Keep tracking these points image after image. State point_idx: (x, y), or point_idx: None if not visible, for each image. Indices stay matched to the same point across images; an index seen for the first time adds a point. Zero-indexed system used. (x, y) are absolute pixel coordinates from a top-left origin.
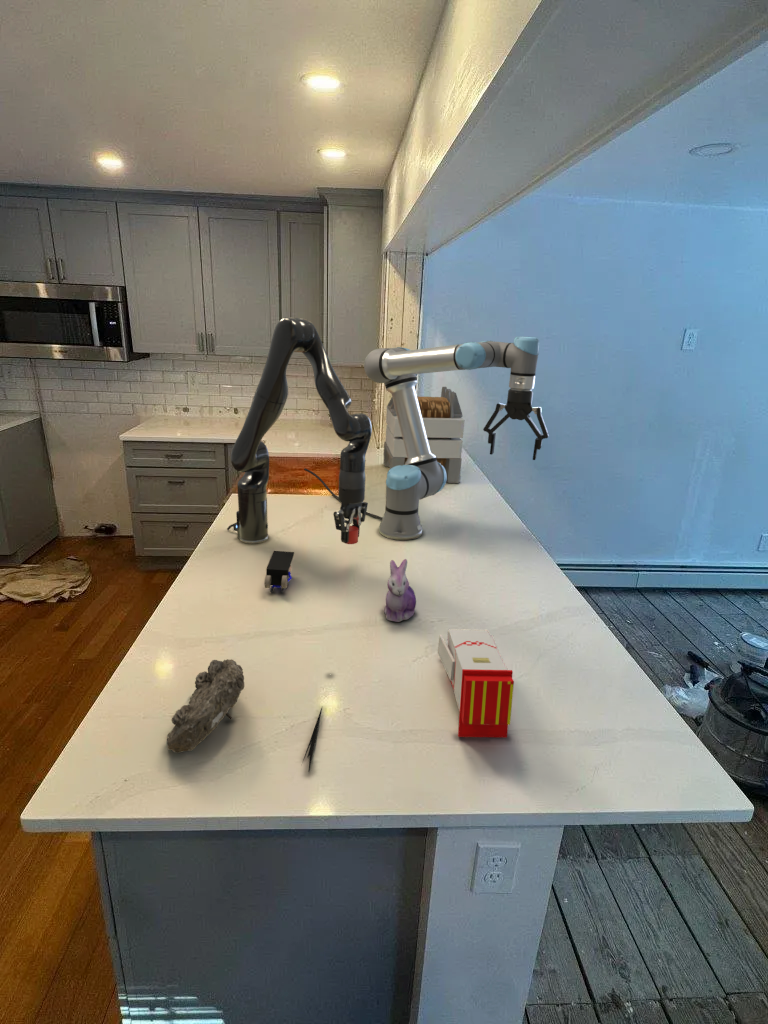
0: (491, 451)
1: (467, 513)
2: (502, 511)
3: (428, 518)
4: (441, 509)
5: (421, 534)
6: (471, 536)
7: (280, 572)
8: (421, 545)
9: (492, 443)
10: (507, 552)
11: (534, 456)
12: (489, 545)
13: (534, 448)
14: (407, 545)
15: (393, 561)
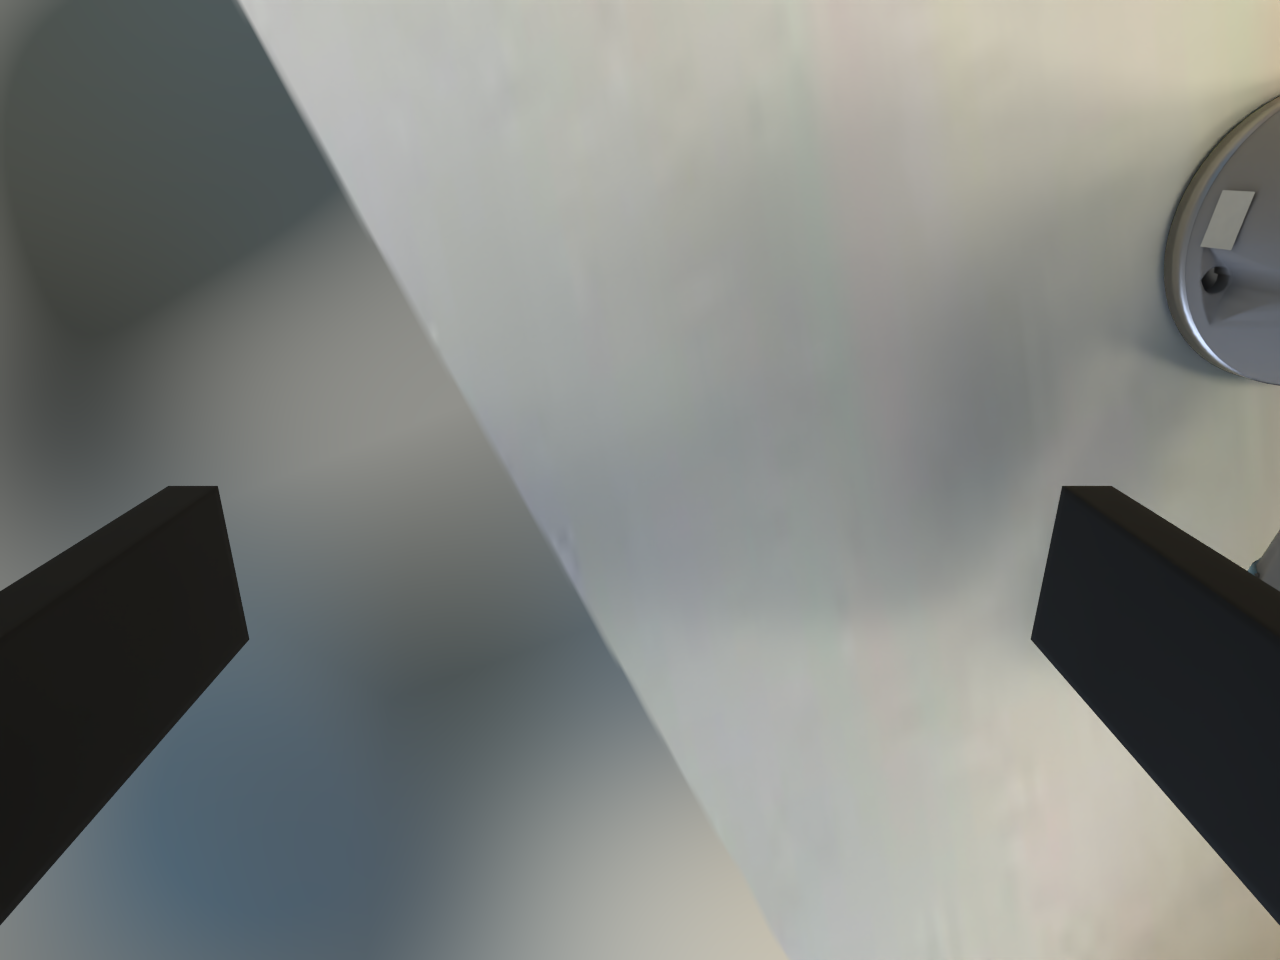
0: (1119, 511)
1: (915, 724)
2: (729, 830)
3: None
4: (1073, 719)
5: (1166, 251)
6: (843, 387)
7: None
8: (1146, 72)
9: (1257, 606)
10: (590, 232)
11: (142, 517)
12: (714, 293)
13: (28, 606)
14: (1245, 21)
15: None
